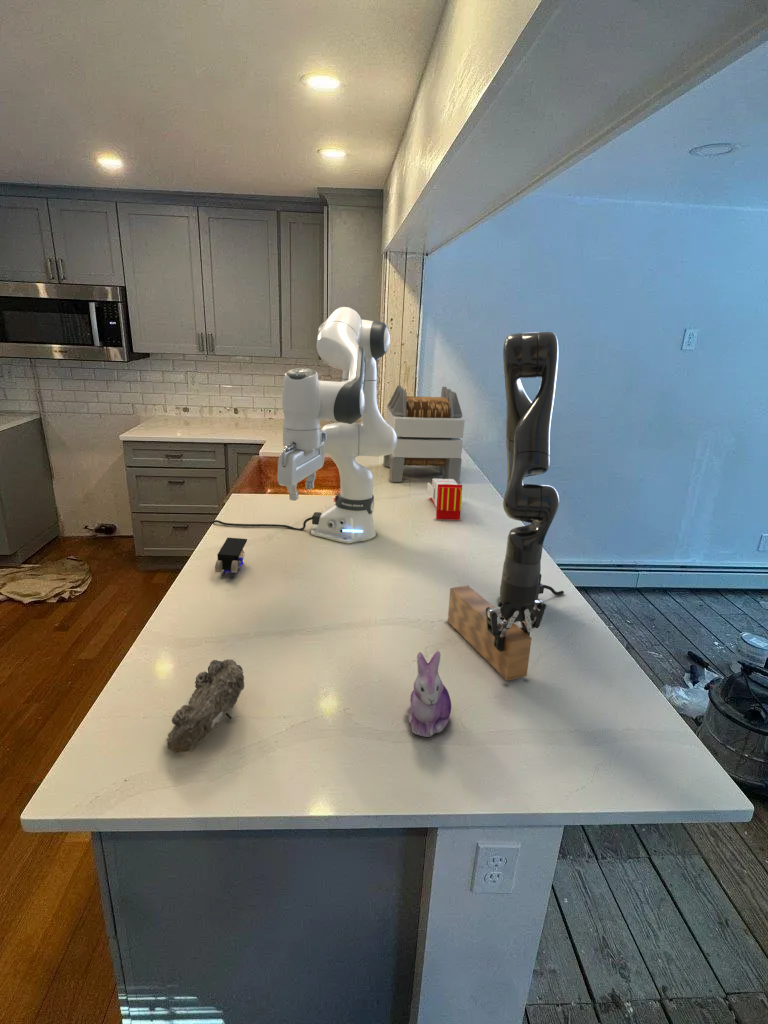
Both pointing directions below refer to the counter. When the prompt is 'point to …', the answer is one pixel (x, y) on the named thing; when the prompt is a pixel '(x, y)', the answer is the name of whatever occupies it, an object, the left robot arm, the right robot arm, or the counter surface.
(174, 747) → the fossil
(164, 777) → the counter surface
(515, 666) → the bar
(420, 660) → the figurine
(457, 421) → the transformer
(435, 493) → the toy
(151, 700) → the counter surface
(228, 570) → the figurine character
